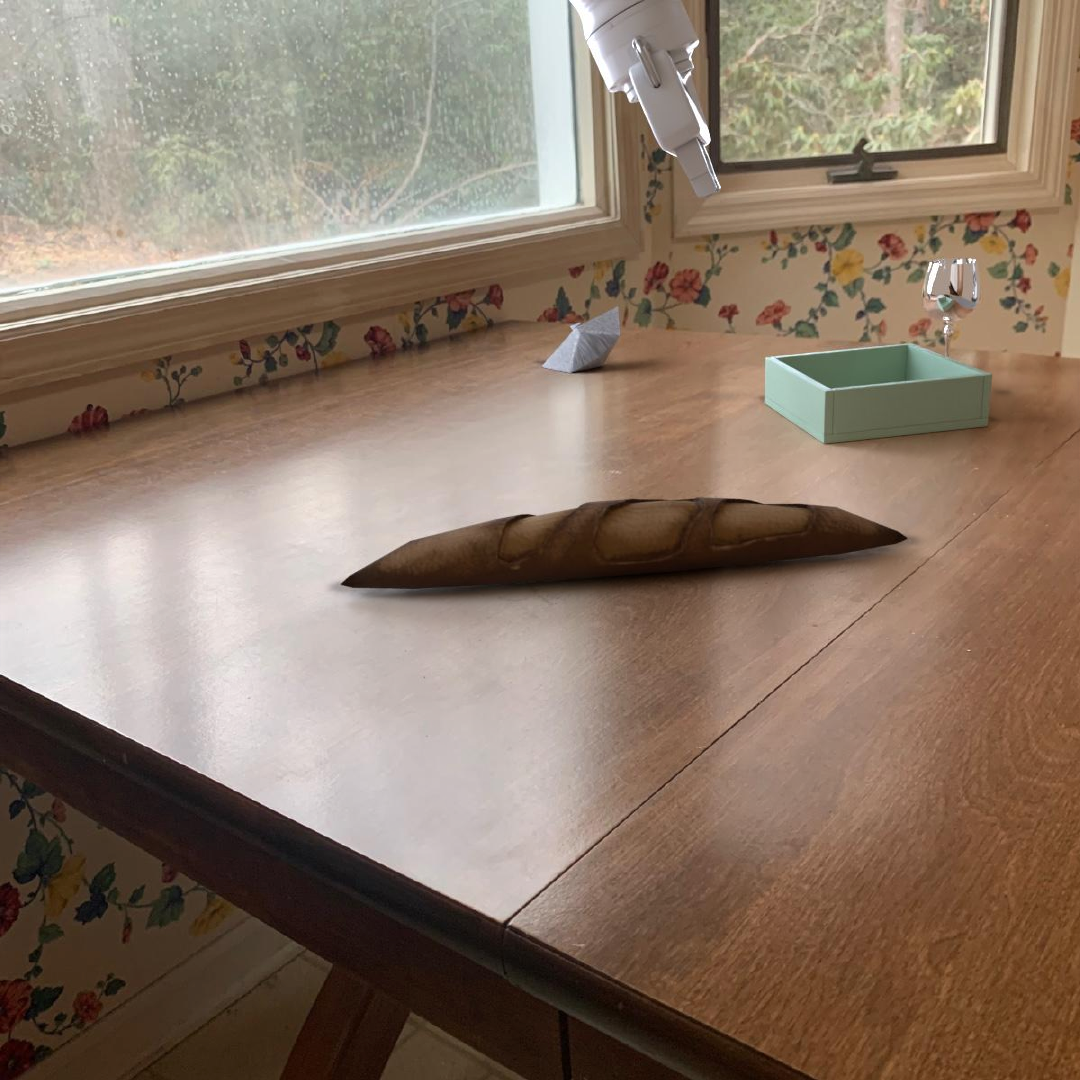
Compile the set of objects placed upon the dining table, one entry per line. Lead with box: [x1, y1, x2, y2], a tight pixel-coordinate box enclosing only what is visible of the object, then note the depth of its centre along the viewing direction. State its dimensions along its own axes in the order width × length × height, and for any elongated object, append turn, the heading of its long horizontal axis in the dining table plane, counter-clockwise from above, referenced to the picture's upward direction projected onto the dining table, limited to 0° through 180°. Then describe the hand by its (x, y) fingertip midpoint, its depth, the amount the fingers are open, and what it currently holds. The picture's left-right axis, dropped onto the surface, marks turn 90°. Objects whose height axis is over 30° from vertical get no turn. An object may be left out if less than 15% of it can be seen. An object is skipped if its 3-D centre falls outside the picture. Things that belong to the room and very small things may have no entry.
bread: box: [340, 496, 909, 590], centre depth 72 cm, size 38×5×5 cm, turn 93°
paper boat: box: [541, 306, 621, 374], centre depth 133 cm, size 12×6×9 cm
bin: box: [764, 342, 993, 445], centre depth 104 cm, size 16×16×5 cm
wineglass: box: [921, 257, 982, 358], centre depth 116 cm, size 6×6×12 cm
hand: (711, 195), depth 99 cm, fingers open, 8 cm apart
